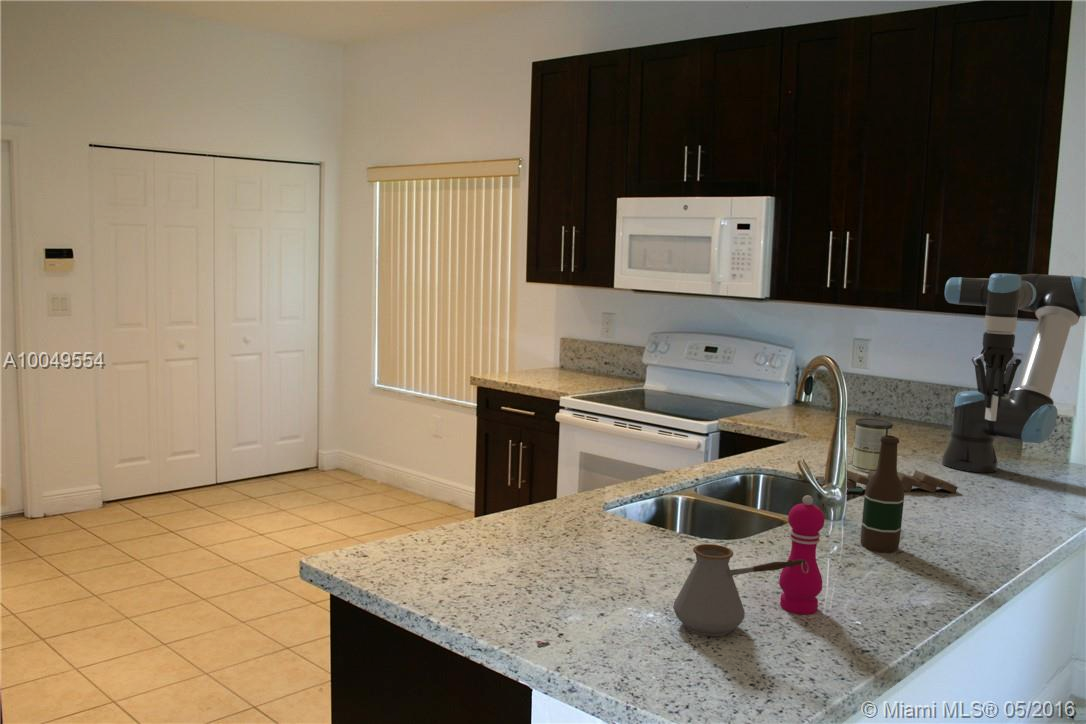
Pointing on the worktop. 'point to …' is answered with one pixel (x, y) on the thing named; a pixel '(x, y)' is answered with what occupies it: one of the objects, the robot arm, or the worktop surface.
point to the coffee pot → (716, 591)
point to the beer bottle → (883, 502)
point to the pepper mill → (804, 541)
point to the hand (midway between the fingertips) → (990, 419)
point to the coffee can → (868, 443)
